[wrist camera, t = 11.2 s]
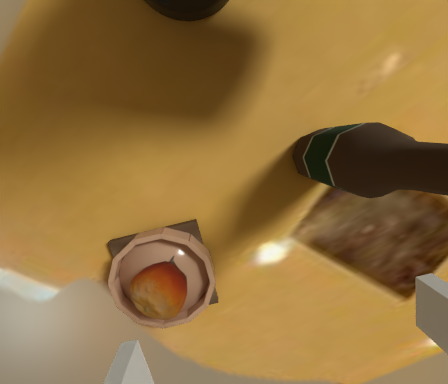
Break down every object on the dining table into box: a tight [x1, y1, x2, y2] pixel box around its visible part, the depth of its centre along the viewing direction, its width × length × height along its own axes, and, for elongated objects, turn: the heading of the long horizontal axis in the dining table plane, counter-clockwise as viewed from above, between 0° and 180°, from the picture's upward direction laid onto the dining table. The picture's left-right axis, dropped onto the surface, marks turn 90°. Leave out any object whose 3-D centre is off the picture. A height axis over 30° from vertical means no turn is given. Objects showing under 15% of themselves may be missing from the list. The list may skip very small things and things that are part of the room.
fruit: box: [130, 256, 187, 320], centre depth 33 cm, size 8×8×8 cm
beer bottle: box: [293, 123, 448, 198], centre depth 23 cm, size 8×8×24 cm
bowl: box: [108, 227, 216, 328], centre depth 35 cm, size 16×16×2 cm
